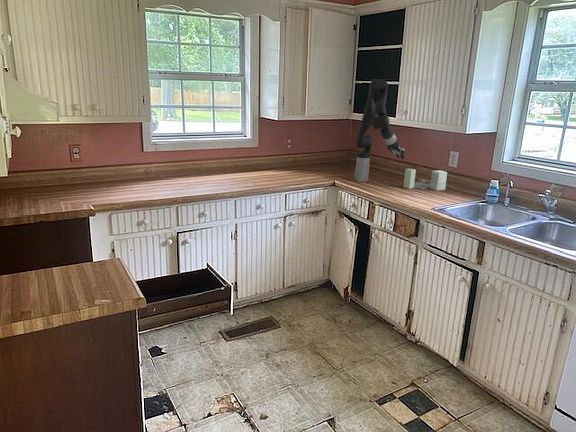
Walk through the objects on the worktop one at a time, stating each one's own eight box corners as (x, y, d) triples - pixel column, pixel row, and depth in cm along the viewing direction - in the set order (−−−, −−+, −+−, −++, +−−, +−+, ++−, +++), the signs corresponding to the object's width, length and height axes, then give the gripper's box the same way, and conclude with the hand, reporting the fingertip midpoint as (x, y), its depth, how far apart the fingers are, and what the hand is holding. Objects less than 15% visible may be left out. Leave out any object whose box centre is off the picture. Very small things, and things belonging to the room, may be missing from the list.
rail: (417, 182, 328) (418, 179, 327) (419, 182, 329) (419, 179, 328) (436, 186, 316) (437, 183, 316) (437, 186, 317) (438, 183, 316)
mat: (403, 185, 318) (403, 184, 318) (417, 182, 328) (417, 182, 328) (422, 189, 306) (422, 188, 306) (436, 186, 316) (436, 186, 316)
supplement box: (438, 187, 313) (440, 170, 310) (445, 190, 307) (447, 172, 303) (429, 188, 311) (431, 170, 307) (436, 190, 304) (438, 172, 300)
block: (403, 187, 310) (405, 169, 306) (407, 186, 313) (409, 168, 309) (409, 189, 306) (411, 170, 302) (413, 188, 309) (415, 169, 305)
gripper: (402, 136, 281) (412, 154, 292) (385, 134, 291) (395, 152, 302) (396, 145, 279) (406, 163, 290) (379, 143, 290) (389, 160, 300)
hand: (401, 157), depth 296 cm, fingers open, 3 cm apart
